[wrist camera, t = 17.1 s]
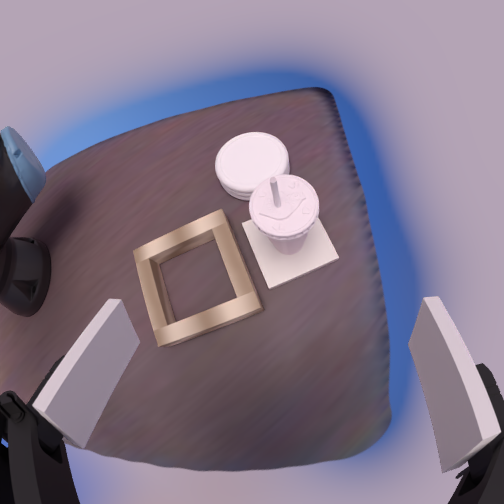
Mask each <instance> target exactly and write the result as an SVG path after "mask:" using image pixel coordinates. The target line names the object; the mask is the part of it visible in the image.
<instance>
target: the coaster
mask: <svg viewBox="0 0 504 504" xmlns="http://www.w3.org/2000/svg"><path fill="white" fill-rule="evenodd" d="M215 170H216V174H217V177H218V179H219V181H220V182H221V184H222V186H223V188H224V189H225V191H226V192H228V193H229V194H230V195H231V196H233V197H235V198H237V199H240V200H245V201H250V198H251V195H252V193H253V191H254V190H255V188H256V187H257V186H258V185H259V184H260V183H261V182H263V181H264V180H266V179H267V178H270V177H272V176H276V175H282V174H287V175H289V172H290V166H289V156H288V152H287V149H286V147H285V146H284V144H283V143H282V142H281V141H280V140H279V139H278V138H276V137H274V136H272V135H270V134H267V133H262V132H250V133H245V134H241V135H239V136H236V137H234V138H232V139H231V140H229V141H228V142H227V143H226V144H225V145H224V146H223V147H222V148H221V149H220V151H219V153H218V155H217V157H216V162H215Z"/></svg>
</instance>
